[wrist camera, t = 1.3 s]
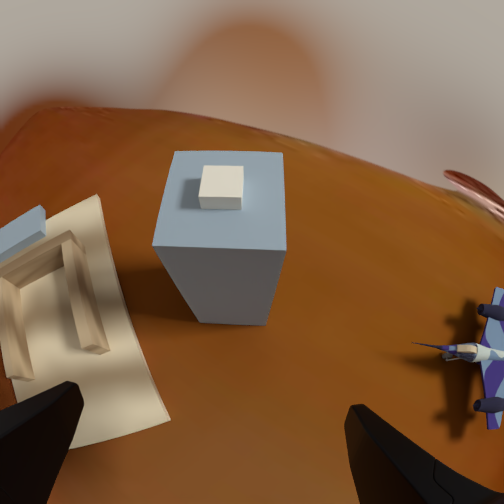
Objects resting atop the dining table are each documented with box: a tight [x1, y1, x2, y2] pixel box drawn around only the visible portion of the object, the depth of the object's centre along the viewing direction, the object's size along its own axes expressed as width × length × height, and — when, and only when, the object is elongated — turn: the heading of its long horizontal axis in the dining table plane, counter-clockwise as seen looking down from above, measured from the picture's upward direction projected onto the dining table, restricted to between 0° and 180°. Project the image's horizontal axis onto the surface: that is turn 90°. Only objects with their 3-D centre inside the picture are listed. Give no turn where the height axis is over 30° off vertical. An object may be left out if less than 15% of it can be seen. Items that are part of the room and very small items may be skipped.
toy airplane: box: [411, 287, 504, 430], centre depth 18 cm, size 13×14×4 cm
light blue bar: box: [0, 205, 46, 263], centre depth 23 cm, size 12×4×1 cm, turn 116°
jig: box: [0, 194, 171, 449], centre depth 19 cm, size 22×14×4 cm, turn 26°
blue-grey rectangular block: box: [152, 151, 286, 326], centre depth 17 cm, size 5×5×13 cm
